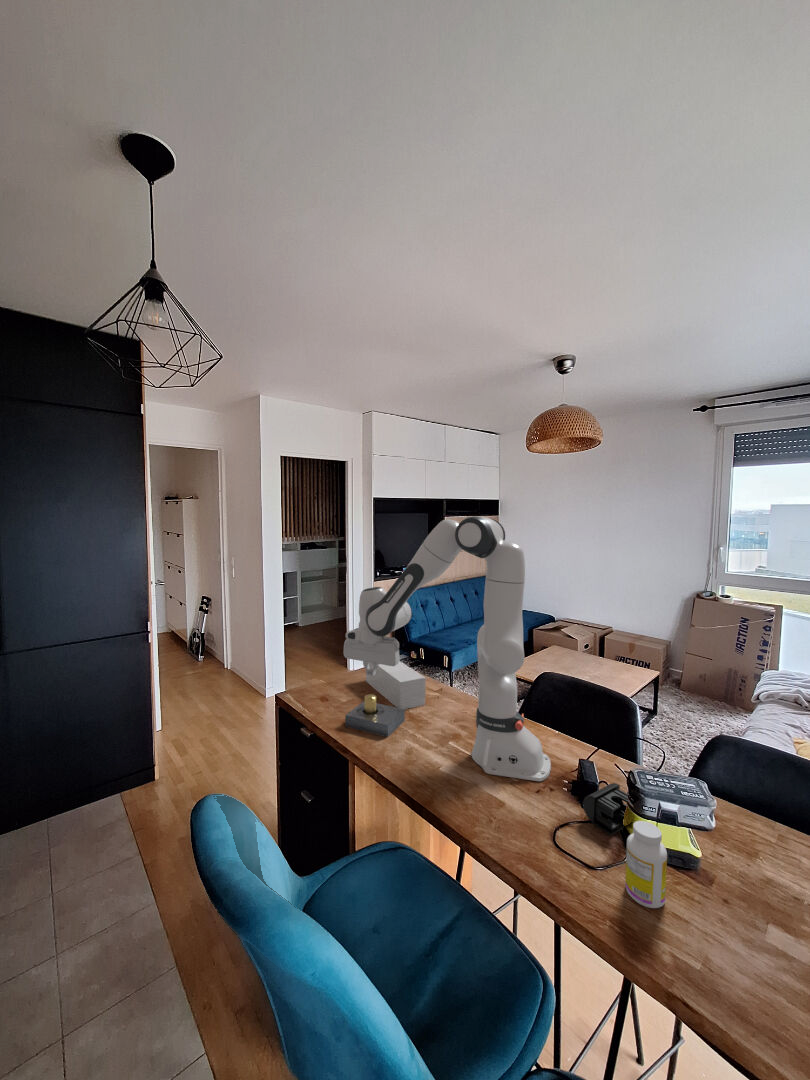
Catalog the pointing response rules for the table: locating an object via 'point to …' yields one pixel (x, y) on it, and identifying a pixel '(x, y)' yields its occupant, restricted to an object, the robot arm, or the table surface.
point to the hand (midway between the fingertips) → (370, 674)
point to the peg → (370, 704)
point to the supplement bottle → (646, 865)
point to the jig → (375, 719)
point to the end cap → (607, 808)
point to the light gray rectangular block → (399, 685)
